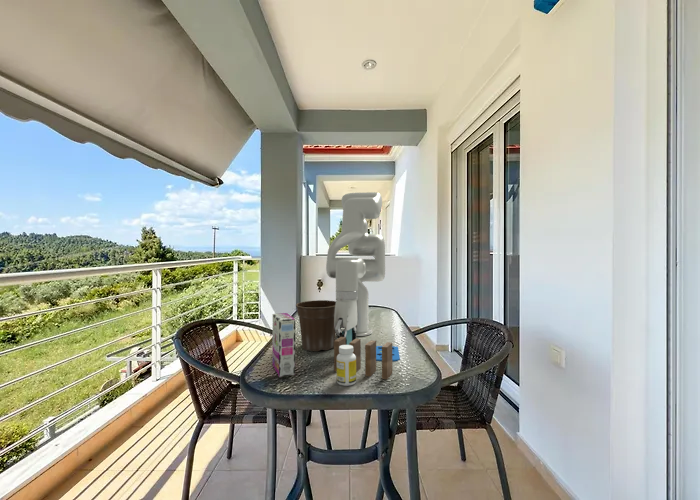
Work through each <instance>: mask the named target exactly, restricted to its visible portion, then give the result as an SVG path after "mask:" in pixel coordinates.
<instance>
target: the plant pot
mask: <svg viewBox="0 0 700 500" xmlns="http://www.w3.org/2000/svg"><path fill="white" fill-rule="evenodd" d="M336 301H337V300H325V299H323V300H321V299H319V300H306V301H305V300H304V301H300V302H297V303H296V304H295V307H296V309H297V315H298V319H299V320H298V321H299V326H300V328H299V329H300V337H301V338H300V339H301V347H302V348H303V350H305V351H309V352H320V351H322V350H323V351H329V350H331V349H334V341H335V340H336V339H337V336H336V332H335V329H334V314H335V304H336Z"/></svg>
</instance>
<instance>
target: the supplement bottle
mask: <svg viewBox="0 0 700 500" xmlns="http://www.w3.org/2000/svg"><path fill="white" fill-rule="evenodd" d="M353 351H354V350H353V346H352V345H341V346H339V353H340V354H338V355H337V371H336V383H337V384H338V385H340V386H345V387H347V386H353V385H355V384H356V383H357V372H356V356H355V354H353Z"/></svg>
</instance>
